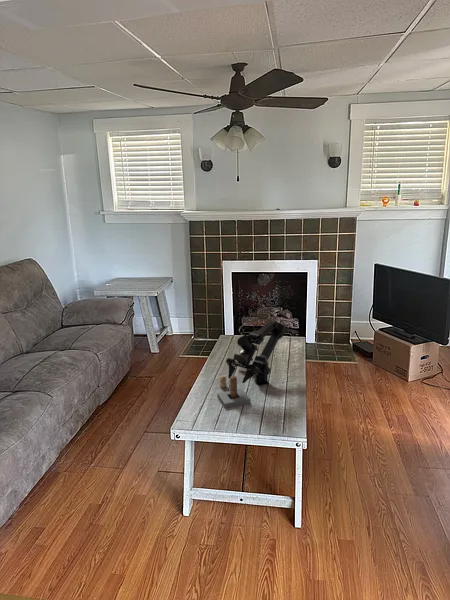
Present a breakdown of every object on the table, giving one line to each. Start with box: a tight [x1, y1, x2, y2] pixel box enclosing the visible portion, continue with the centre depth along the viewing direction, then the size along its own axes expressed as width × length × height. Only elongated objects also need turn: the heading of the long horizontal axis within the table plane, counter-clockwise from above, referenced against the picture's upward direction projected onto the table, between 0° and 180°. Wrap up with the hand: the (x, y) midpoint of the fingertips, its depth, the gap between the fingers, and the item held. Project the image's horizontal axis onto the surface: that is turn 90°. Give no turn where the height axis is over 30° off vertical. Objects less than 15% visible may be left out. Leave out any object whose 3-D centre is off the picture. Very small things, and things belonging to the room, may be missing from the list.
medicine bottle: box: [237, 349, 253, 372], centre depth 257 cm, size 7×7×12 cm
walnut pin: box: [229, 375, 238, 399], centre depth 220 cm, size 4×4×13 cm
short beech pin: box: [219, 374, 227, 389], centre depth 236 cm, size 4×4×6 cm
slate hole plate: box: [216, 388, 251, 409], centre depth 221 cm, size 14×12×2 cm
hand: (235, 380), depth 220 cm, fingers open, 9 cm apart
